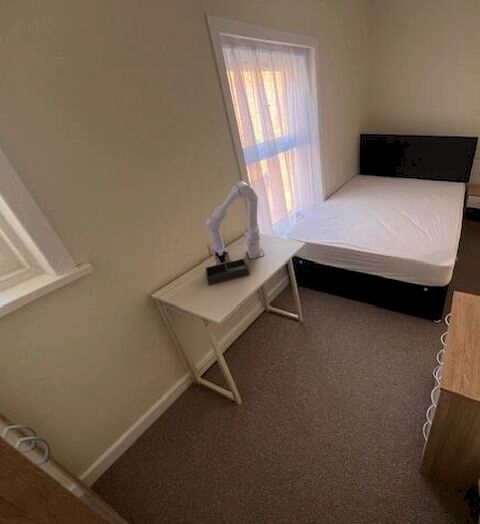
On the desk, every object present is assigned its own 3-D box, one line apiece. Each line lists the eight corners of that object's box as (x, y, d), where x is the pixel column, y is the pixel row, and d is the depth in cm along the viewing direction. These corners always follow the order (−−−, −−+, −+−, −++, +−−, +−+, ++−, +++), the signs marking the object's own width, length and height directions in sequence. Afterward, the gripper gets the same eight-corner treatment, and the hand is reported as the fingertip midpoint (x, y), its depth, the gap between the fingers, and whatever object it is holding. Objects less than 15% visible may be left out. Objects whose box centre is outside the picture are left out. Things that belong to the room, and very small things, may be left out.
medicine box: (217, 268, 161) (213, 255, 156) (216, 264, 164) (212, 251, 159) (231, 264, 164) (228, 251, 159) (230, 260, 167) (226, 248, 162)
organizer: (207, 274, 156) (205, 267, 153) (245, 265, 163) (243, 258, 160) (209, 285, 148) (206, 277, 145) (248, 274, 155) (247, 267, 152)
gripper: (208, 235, 159) (214, 255, 167) (210, 246, 148) (216, 268, 156) (221, 232, 162) (226, 253, 169) (224, 243, 150) (229, 265, 158)
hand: (222, 260), depth 162 cm, fingers closed on medicine box, 4 cm apart
